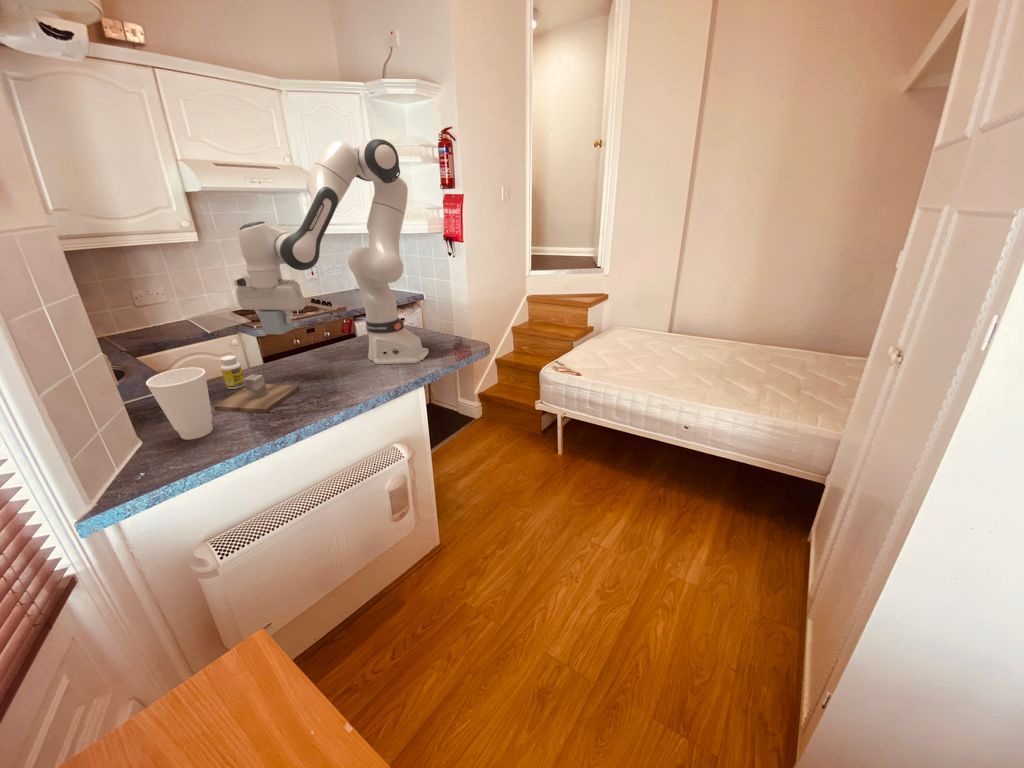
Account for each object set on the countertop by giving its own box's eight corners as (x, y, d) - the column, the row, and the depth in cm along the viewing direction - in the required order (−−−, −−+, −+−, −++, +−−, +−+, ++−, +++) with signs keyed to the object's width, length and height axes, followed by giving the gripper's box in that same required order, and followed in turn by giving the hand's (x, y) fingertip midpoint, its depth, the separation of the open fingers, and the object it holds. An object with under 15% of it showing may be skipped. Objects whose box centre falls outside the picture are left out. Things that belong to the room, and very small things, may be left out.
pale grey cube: (293, 328, 137) (288, 307, 135) (282, 334, 132) (276, 312, 129) (276, 328, 138) (271, 307, 135) (263, 334, 133) (257, 312, 130)
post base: (299, 389, 134) (294, 368, 131) (266, 412, 119) (259, 389, 116) (253, 386, 136) (247, 366, 133) (215, 409, 121) (207, 387, 118)
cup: (169, 430, 111) (147, 374, 105) (222, 417, 118) (204, 363, 111) (168, 450, 102) (143, 390, 96) (225, 435, 109) (205, 378, 102)
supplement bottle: (237, 390, 134) (228, 361, 130) (222, 388, 135) (213, 360, 131) (250, 383, 139) (242, 355, 135) (236, 382, 140) (227, 354, 136)
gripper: (303, 277, 130) (313, 321, 136) (243, 276, 132) (255, 319, 138) (291, 281, 124) (301, 327, 130) (228, 280, 127) (241, 325, 132)
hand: (277, 323), depth 134 cm, fingers closed on pale grey cube, 6 cm apart
